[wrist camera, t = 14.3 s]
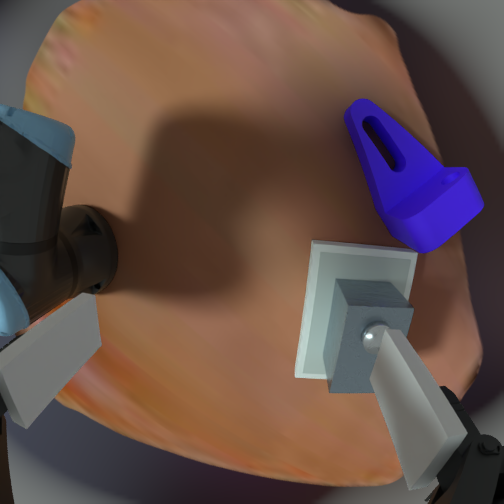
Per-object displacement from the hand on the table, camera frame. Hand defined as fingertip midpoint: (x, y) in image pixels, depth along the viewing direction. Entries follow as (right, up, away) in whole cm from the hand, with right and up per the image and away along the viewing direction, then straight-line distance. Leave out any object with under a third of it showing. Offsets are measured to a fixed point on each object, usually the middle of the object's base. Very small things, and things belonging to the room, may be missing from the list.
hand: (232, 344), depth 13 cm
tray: (+16, -5, +31) cm, 35 cm away
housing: (+16, -6, +28) cm, 33 cm away
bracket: (+19, +16, +26) cm, 36 cm away
